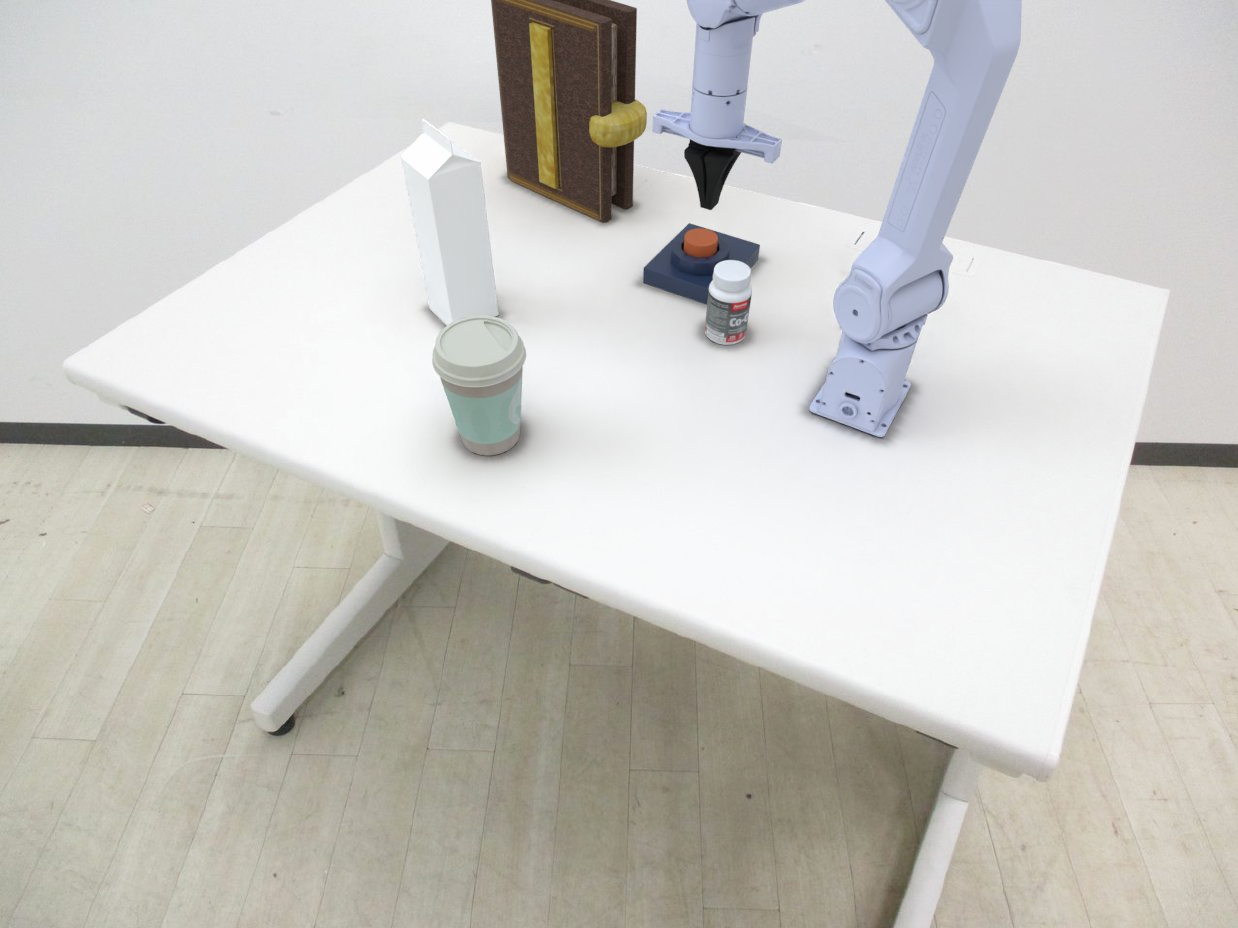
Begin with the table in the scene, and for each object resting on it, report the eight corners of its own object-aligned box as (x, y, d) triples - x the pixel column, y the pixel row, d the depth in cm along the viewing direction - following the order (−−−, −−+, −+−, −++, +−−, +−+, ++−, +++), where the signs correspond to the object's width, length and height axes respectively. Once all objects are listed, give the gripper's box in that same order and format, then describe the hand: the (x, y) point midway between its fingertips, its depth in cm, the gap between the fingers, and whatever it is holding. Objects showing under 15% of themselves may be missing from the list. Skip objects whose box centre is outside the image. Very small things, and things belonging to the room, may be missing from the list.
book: (496, 180, 121) (476, -12, 103) (538, 158, 125) (526, -29, 107) (614, 234, 111) (615, 32, 93) (654, 208, 115) (663, 11, 97)
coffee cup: (529, 466, 82) (519, 371, 73) (441, 465, 82) (420, 369, 73) (537, 407, 88) (528, 312, 79) (455, 405, 88) (437, 310, 79)
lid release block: (716, 308, 100) (719, 279, 97) (642, 283, 103) (643, 254, 100) (758, 259, 107) (762, 231, 104) (687, 237, 110) (690, 210, 108)
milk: (454, 334, 96) (421, 149, 80) (428, 309, 99) (392, 126, 83) (500, 315, 99) (477, 131, 83) (473, 290, 102) (447, 109, 86)
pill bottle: (731, 351, 94) (740, 288, 88) (696, 335, 96) (702, 272, 90) (753, 330, 97) (763, 268, 91) (718, 315, 99) (725, 253, 93)
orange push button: (707, 262, 100) (708, 249, 99) (677, 253, 101) (678, 240, 100) (722, 246, 102) (723, 234, 101) (692, 237, 104) (693, 225, 103)
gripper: (799, 86, 88) (781, 206, 97) (676, 58, 93) (670, 175, 102) (772, 112, 83) (756, 234, 93) (644, 81, 88) (641, 200, 98)
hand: (709, 205), depth 98 cm, fingers closed
